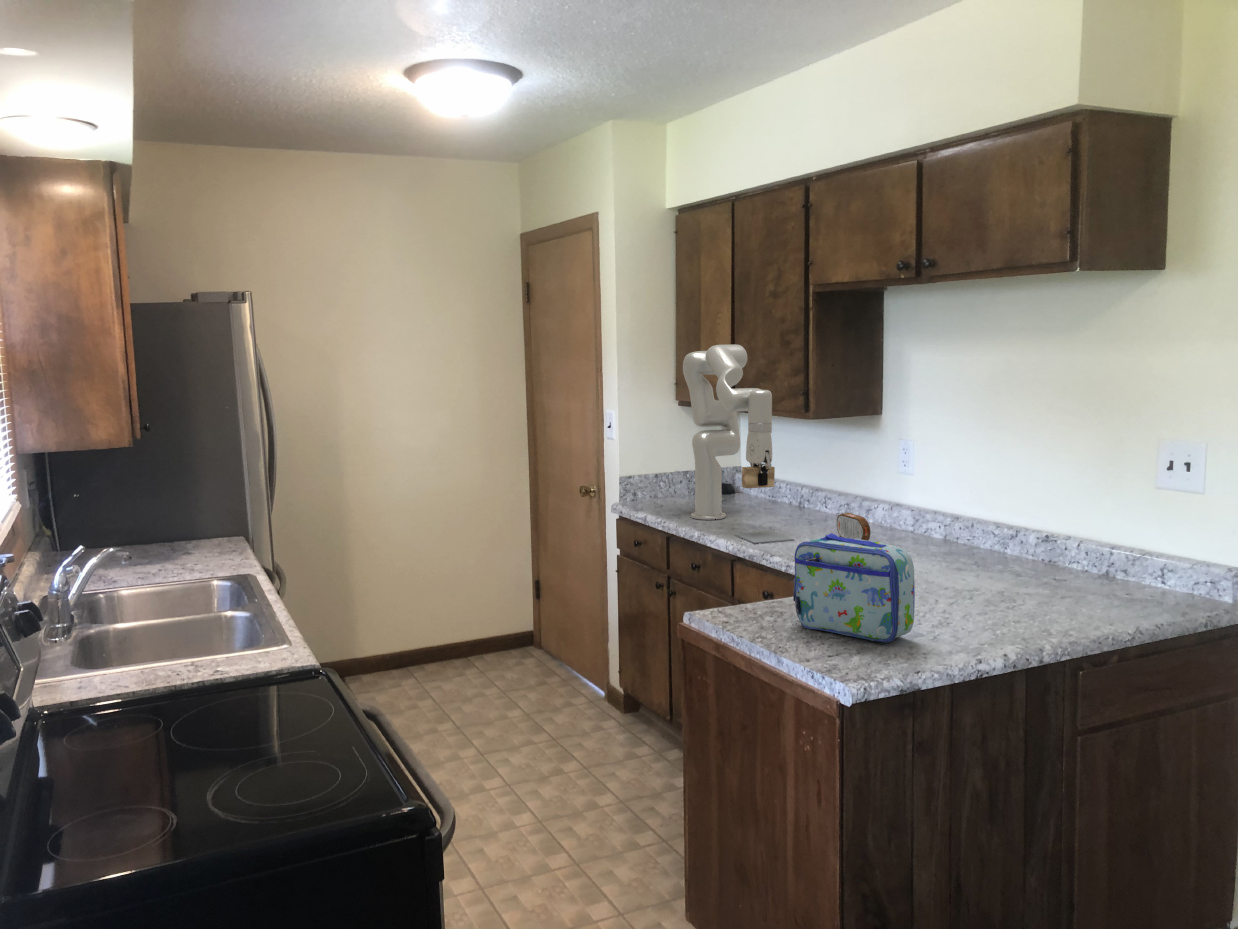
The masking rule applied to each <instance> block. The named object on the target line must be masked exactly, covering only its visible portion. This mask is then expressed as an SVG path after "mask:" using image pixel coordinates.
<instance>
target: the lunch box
mask: <svg viewBox="0 0 1238 929" xmlns="http://www.w3.org/2000/svg"><path fill="white" fill-rule="evenodd" d="M794 552H795V553H794V578H793V584H794V585H793V598H792V599H793V602H794V605H795V614H796V615H797V618H798V620H799V622H800V624H801V625H802V627H803V628H805V629H807V630H816V631H817V630H818V631H823V632H828V633H834V634H837V635H842V636H846V637H847V636H848V637H851V638H856V639H861V640H868V641H871V642H878V643H891V642H893V641H894V640H895V639H896V638H899V637H903V636H904V635H907V634H909V633H910V632H911V631H912V629H913V627H914V621H915V593H916V592H915V589H916V588H915V566H914V562H913V560H912V557H911V555H910V554H909V552H908V551H906V550H905V549H904V548H901V547H898V546H897V545H896V546H895V545H893V544H892V545H891V544H889V543H883V542H879V541H872V540H868V541H867V540H860V539H852V538H843V537H841V536H839V535H837V534H834V533H833V532H831V533H828V534H826V535H825V536H821V537H818V538H815V539H811V540H808V541H803V542H800V543H799V544H798V545H797V546H796V549H795V551H794Z"/></svg>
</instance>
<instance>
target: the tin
mask: <svg viewBox="0 0 1238 929" xmlns="http://www.w3.org/2000/svg"><path fill="white" fill-rule="evenodd" d="M836 530H837V532H838V536H839V537H843V538H852V539H860V540H867V541H870V537H871V527H870V524H869V521H868V520H867V519H866V518H865V517H864V516H863V515H862V516H861V515H858V514H854V513H852V512H844V513H840V514H838V516H837V517H836Z"/></svg>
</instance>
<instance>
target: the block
mask: <svg viewBox="0 0 1238 929" xmlns="http://www.w3.org/2000/svg"><path fill="white" fill-rule="evenodd" d="M763 466H764V465H763ZM763 466H762V468H763ZM775 469H776V468H775V466H772V465H771V467H770V468H769V470H768V485H766V486H758V473H759V466H754V467H751V466H742V467H741V488H744V489H760V488H762V489H763V488H765V489H766V488H774V487H775V473H776V472H775Z"/></svg>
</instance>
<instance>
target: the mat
mask: <svg viewBox="0 0 1238 929" xmlns="http://www.w3.org/2000/svg"><path fill="white" fill-rule="evenodd" d="M734 535H735V536H734ZM733 536H734V537H736V538H739V537H740V538H739V539H741V538H743V539H742V540H744V539H745V540H744V541H746V540H747V541H746V542H748V541H749V542H748V543H751V542H752V543H751V544H753V543H754V545H758V544H757V543H761V544H768V543H767V542H772V543H780V542H781V543H782V542H793V541H795V539H794V538H793V537H790V536H788V535H784V534H782V533H780V532H776V531H775V530H771V529H770V530H762V531H761V530H760V531H752V532H740V533H739V532H737V533H733Z"/></svg>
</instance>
